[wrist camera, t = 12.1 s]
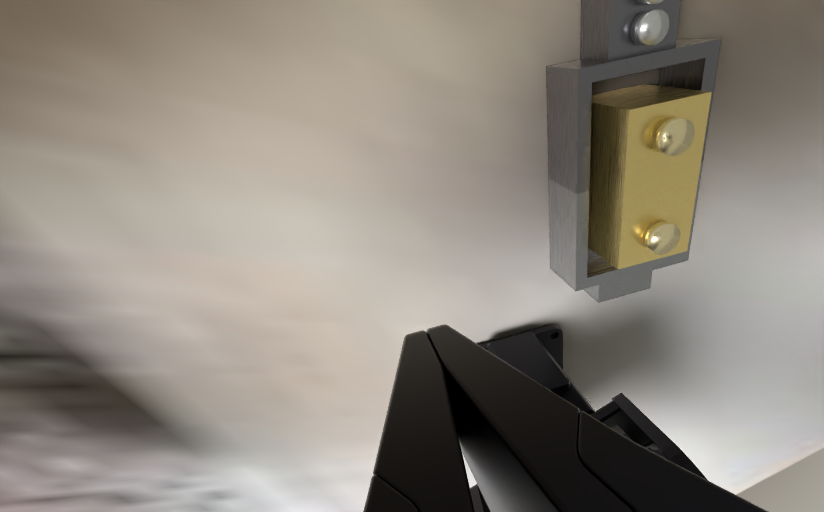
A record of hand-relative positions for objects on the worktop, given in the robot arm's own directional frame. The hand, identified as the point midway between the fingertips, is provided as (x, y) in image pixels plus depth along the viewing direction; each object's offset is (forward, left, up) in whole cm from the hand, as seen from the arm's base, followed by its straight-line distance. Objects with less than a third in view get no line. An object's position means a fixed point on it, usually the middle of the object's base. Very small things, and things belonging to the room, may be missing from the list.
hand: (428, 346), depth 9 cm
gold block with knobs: (-2, -12, -12) cm, 17 cm away
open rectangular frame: (-2, -12, -12) cm, 17 cm away
